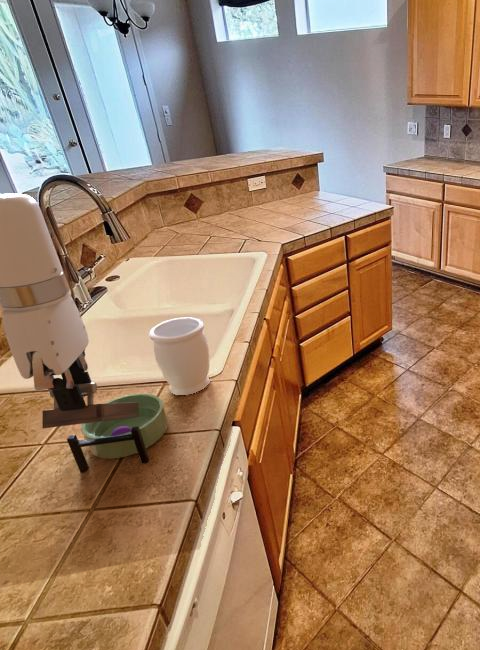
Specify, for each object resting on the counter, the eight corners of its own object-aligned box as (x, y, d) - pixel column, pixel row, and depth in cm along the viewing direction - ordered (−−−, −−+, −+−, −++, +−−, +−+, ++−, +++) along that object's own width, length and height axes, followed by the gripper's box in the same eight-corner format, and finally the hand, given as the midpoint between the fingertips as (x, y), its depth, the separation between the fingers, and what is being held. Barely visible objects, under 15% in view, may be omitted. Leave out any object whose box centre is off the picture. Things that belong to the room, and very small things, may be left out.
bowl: (76, 466, 75) (67, 444, 73) (105, 418, 87) (97, 398, 85) (158, 454, 78) (152, 432, 76) (175, 409, 90) (170, 389, 88)
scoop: (40, 428, 62) (41, 387, 63) (90, 422, 76) (90, 389, 77) (100, 421, 64) (100, 381, 65) (138, 416, 78) (138, 383, 79)
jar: (199, 367, 104) (186, 312, 98) (224, 382, 99) (213, 324, 92) (155, 388, 96) (138, 329, 90) (180, 405, 91) (165, 344, 84)
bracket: (80, 473, 74) (66, 439, 71) (82, 468, 75) (69, 435, 72) (147, 463, 76) (137, 429, 73) (149, 458, 77) (138, 426, 74)
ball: (108, 425, 78) (116, 432, 81) (106, 444, 76) (114, 451, 79) (129, 421, 79) (137, 428, 82) (128, 439, 77) (136, 446, 80)
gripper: (34, 272, 64) (75, 375, 71) (-42, 319, 49) (20, 442, 57) (90, 268, 65) (124, 370, 73) (32, 312, 51) (83, 433, 59)
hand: (78, 400), depth 65 cm, fingers closed on scoop, 2 cm apart
